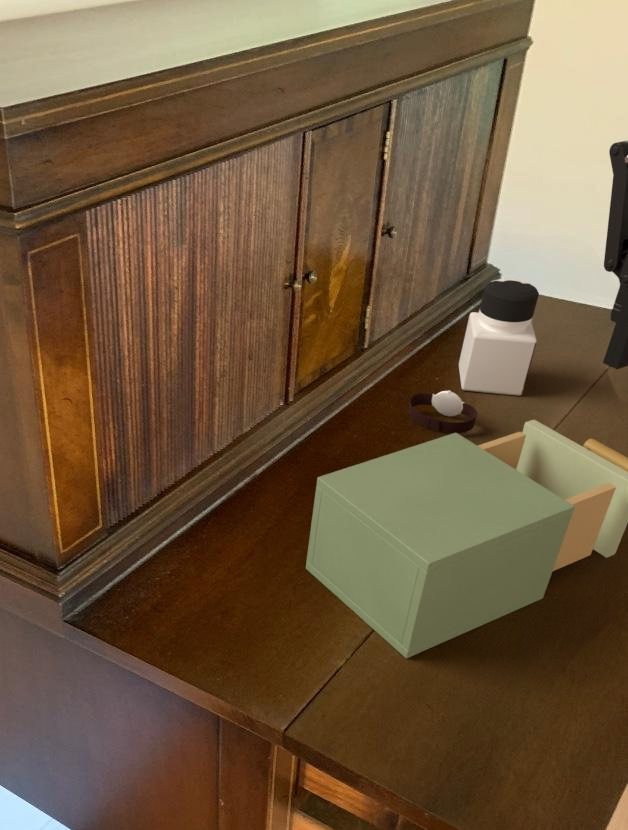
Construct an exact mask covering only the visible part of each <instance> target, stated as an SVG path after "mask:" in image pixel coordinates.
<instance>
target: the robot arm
mask: <svg viewBox="0 0 628 830" xmlns="http://www.w3.org/2000/svg"><path fill="white" fill-rule="evenodd" d="M608 155H609V159H610V165H611V170H612V176H613V177H612V183H611V194H610V203H609V212H608V222H607V229H606V230H607V231H606V239H605V248H604V259H603V268H604V270H605V271H606V272H608V273H613V274H614V275H615V276H616V277H617V278H618V281H619V288H618V291H617V293H616V297H615V299H614V303H613V305H612V309H611V312H610V321H611V322H613V323H615V325H614V328H613V331H612V334H611V336H610V340H609V343H608V346H607V349H606V352H605V355H604V358H603V361H602V364H604V365H606V366H609V367H610V368H612V369H615V370H619V369H622V368H626V367H628V140H623V141H617V142H614V143H612V144H611V145H610V148H609V154H608Z"/></svg>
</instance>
